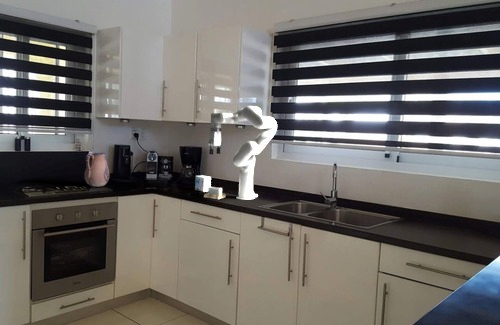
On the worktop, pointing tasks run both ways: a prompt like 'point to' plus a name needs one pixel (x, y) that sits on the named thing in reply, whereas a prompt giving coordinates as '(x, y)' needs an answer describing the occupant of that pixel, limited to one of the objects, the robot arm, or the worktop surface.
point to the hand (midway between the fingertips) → (215, 154)
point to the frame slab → (215, 191)
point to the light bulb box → (202, 183)
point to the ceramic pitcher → (96, 169)
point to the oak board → (214, 196)
